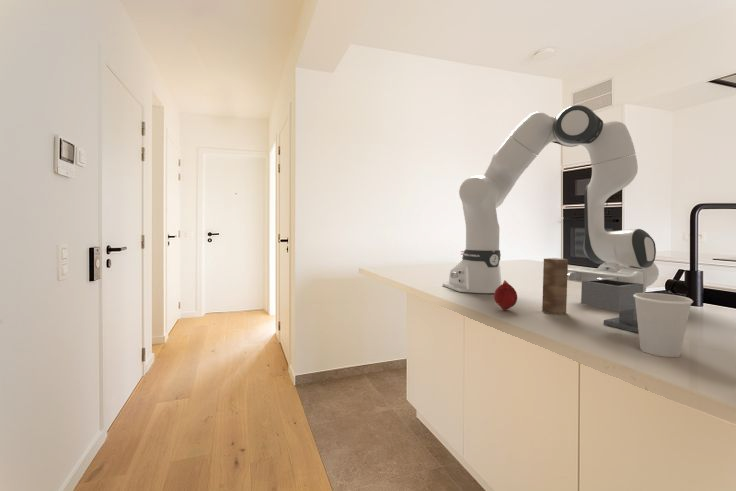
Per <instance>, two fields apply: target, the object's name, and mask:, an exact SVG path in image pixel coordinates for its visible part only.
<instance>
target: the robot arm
mask: <svg viewBox="0 0 736 491" xmlns="http://www.w3.org/2000/svg"><path fill="white" fill-rule="evenodd" d="M550 143H554V144H558V145H560V146H563V147H567V148H568V147H572V148H573V147H578V146H583V147H584V148H585V149H586V150H587V153H588V155H589V158H590V165H591V178H590V181H589V183H588V184H587V185H586V187H585V190H584V203H583V204H584V205H583V206H584V208H583V210H584V236H583V237H584V239H583V244H582V247H583V253H584V255H585V256H586V257H587V259H589V260H590V261H591V262H593V263H595V264H600V265H598V267H597V269H595V268H588V267H586V268H585V267H568V274H567V282H575V283H581V284H582V281H589V280H600V279H609V280H617V281H624V282H631V283H639V284H643V293H647V292H646V291H647V288H648V287H650V286H652V285H653V284H655V282H657V280H658V278H659V275H660V273H659V272H660V271H659V268H658V266H657V264H656V263H655V261H656V260H655V259H656V255H657V249H656V243H655V240H654V238H653V237H652V235H650V234H649V233H648V232H647V231H645V230H644V229H641V228H635V229H634V228H633V229H632V228H631V229H621V230H610V231H607V230H606V229H605V204H606V202H607V200H608V199H609V198H610V197H611V196H613V195H615V194H616V193H618V192H620V191H621V190H623V189H624V188H626V187H627V186H629V185H630V184H631V183H632V182H633V181H634V179H635V178H636V176H637V174H638V171H639V170H638V160H637V154H636V149H635V146H634V142H633V139H632V137H631V133H630V131H629V129H628V128H627V126H626V124H624V123H623V122H621V121H615V120H614V121H606V122H604V121H603V120H602V118H600V117H599V116H598V115H597V114H596V113H595V112H594V111H593V110H592V109H591V108H589V107H587V106H585V105H580V104H575V105H571V106H568V107H566V108H564V109H563V110H561V111H560V113H558V114H557V116H550V115H549V114H547V113H544V112H540V111H534V112H532V113H530V114H529V115H527V116H526V117H525V118H524V119H523V120H522V121H520V123H519V124H518V125H517V126H516V127H515V128H514V129H513V130H512V131H511V133H510V134H509V135H508V137H507V138H506V139H505V140H504V141H503V142H502V144H501V145H500V147H499V148H498V149H497V150H496V152H494V154H493V155H492V158H491V161H490V162H489V165H488V167H487V169H486V170H485V172H484V174H483V175H474V176H471V177H468V178H467V179H464V181H462V182H461V185H460V187H459V190H458V194H459V199H460V200H461V203H462V204H461V205H462V209H463V210H462V211H463V216H464V221H465V249H464V250H462V251H460V255H462V258H461V259H462V260H460V262H458V263H457V264H456V265H455V266H453V267H452V268H451V269H450V272H449V278H448V279H449V280H448V281H446V282H443V283H442V286H443V287H446V288H449V289H451V290H454V291H457V292H460V293H475V294H495V291H496V289H497V288H498V287H499V286H500V285H502V284H503V282H502V272H501V266H500V261H501V256H502V254H501V250H500V225H499V221H498V215H497V208H499V207H500V206H501V205H503V203H504V201H505V199H506V198H507V197H508V195H509V193H510V192H511V191H512V189H513V187H514V186H515V184H516V183H517V181H518V180H519V179H520V177H522V176H521V175H522V174H523V173H524V172H525V170H527V169H528V167H529V166H530V165H531V164H532V162H533V161H534V160H535V159H536V158H537V156H538V155H539V154H540V153H541V152H542V151H543V150H544V148H545V147H547V145H549V144H550Z"/></svg>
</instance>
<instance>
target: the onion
mask: <svg viewBox="0 0 736 491" xmlns="http://www.w3.org/2000/svg"><path fill="white" fill-rule="evenodd" d="M493 299H494V302H495V303H496V304H497V305H498V306H499V307H500V308H501V310H503V311H507V310H509V309H510V308H512V307H514V306H515V305H516V303H517V301H518V293H517V291H516V290H515V288H514V287H513V286H512V285H511V284H509V283H508V282H507V280H505V279H504V280H503V282H502V285H500V286H499V287H498V288H497V289H496V291H495V293H493Z"/></svg>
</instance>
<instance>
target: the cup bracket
mask: <svg viewBox="0 0 736 491" xmlns="http://www.w3.org/2000/svg"><path fill="white" fill-rule="evenodd" d="M636 293H644V292H643V284H639V283H631V282H624V281H617V280H609V279H600V280H589V281H582V283H581V293H580V294H581V295H580V298H581V299H580V304H581V305H585V306H591V307H595V308H600V309H606V310H609V311H614V312H619V314H618V317H612V318H608V319H603V325H605V326H609V327H614V328H618V329H621V330H626V331H630V332H633V333H638V334H639V331H638V322H637V312H636V303H635V297H634V296H633V295H634V294H636Z"/></svg>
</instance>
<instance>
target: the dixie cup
mask: <svg viewBox="0 0 736 491" xmlns="http://www.w3.org/2000/svg"><path fill="white" fill-rule="evenodd" d="M633 296H634V297H635V303H636V312H637V322H638V331H639V333H638V339H639V348H640V350H641V352H644V353H647V354H650V355H653V356H658V357H664V358H678V357H680V356H681V353H682V349H683V343H684V339H685V334H686V330H687V325H688V320H689V316H690V311H691V307H692V304H693V303H694V300H693V299H691V298H690V297H686V296H682V295H675V294H670V293H661V292H660V293H657V292H643V293H636V294H634V295H633Z"/></svg>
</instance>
